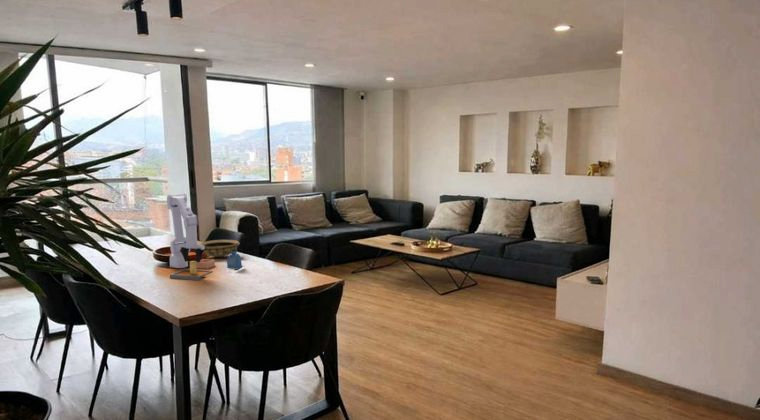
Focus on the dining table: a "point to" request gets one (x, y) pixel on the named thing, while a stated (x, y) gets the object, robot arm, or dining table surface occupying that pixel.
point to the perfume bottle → (234, 260)
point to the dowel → (192, 267)
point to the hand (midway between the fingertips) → (192, 261)
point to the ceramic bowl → (219, 248)
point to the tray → (189, 275)
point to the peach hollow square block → (205, 263)
